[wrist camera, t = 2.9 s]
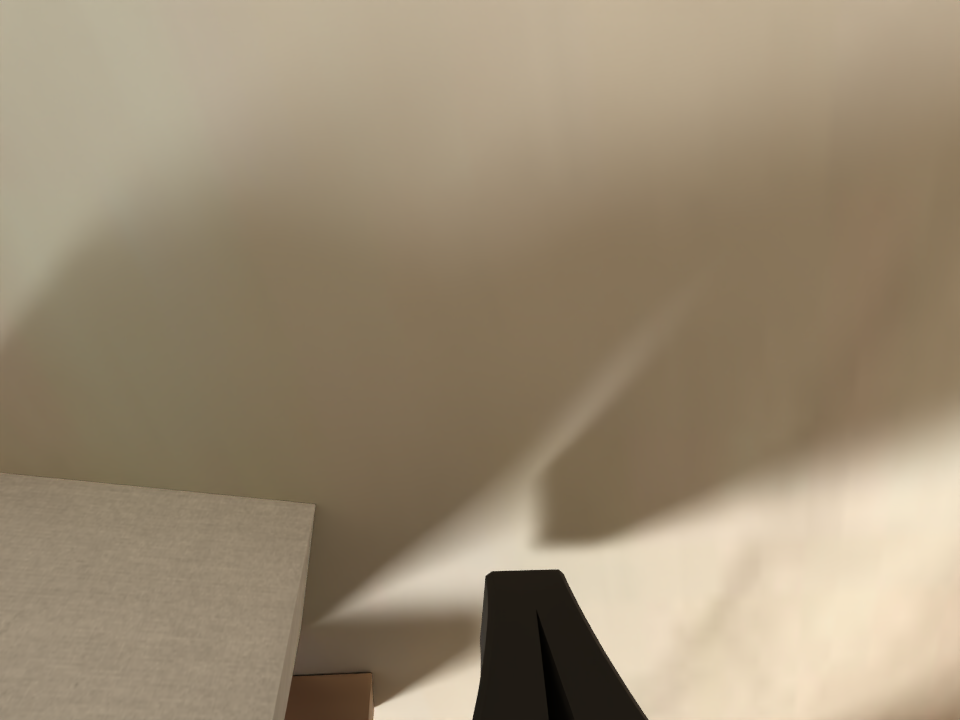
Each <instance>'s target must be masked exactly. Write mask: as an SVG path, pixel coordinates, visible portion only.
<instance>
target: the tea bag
mask: <svg viewBox="0 0 960 720" xmlns="http://www.w3.org/2000/svg"><path fill="white" fill-rule="evenodd" d="M315 505H316V504H309V503H299V502H289V501H279V500H269V499H259V498H249V497H239V496H229V495H219V494H209V493H199V492H189V491H179V490H169V489H159V488H149V487H139V486H129V485H118V484H108V483H98V482H88V481H78V480H68V479H58V478H48V477H38V476H28V475H18V474H8V473H0V720H284V719H285V713H286V708H287V702H288V697H289V691H290V686H291V681H292V675H293V670H294V664H295V659H296V653H297V648H298V643H299V637H300V632H301V625H302V616H303V608H304V599H305V591H306V582H307V574H308V565H309V557H310V548H311V539H312V531H313V522H314V514H315Z"/></svg>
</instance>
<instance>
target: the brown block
mask: <svg viewBox="0 0 960 720" xmlns="http://www.w3.org/2000/svg"><path fill="white" fill-rule="evenodd" d="M373 716H374V703H373V686H372V673H360V674H338V675H315V676H293V677H292V681H291V686H290V691H289V697H288V702H287V708H286V713H285V719H284V720H373Z"/></svg>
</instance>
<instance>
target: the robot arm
mask: <svg viewBox="0 0 960 720" xmlns="http://www.w3.org/2000/svg"><path fill="white" fill-rule="evenodd" d="M480 647H481V678H480V684H479V690H478V696H477V701H476V705H475V710H474V715H473V719H472V720H648V718H647V717H646V715H645V714H644V713H643V711H642V710H641V708H640V707H639V705H638V704H637V702H636V701H635V699H634V697H633V696H632V694H631V693H630V691H629V690H628V688H627V687H626V685H625V683H624V682H623V680H622V679H621V677H620V675H619V674H618V672H617V671H616V669H615V667H614V666H613V664H612V663H611V661H610V659H609V658H608V656H607V655H606V653H605V651H604V649H603V648H602V646H601V644H600V643H599V641H598V639H597V637H596V636H595V634H594V632H593V630H592V629H591V627H590V625H589V623H588V621H587V620H586V618H585V616H584V614H583V612H582V610H581V608H580V607H579V605H578V603H577V601H576V599H575V597H574V595H573V593H572V591H571V589H570V587H569V585H568V583H567V580H566V578H565V576H564V574H563V573H562V572H561V571H560V570H524V571H492V572H491V573H489V574H488V575H486V577H485V589H484V601H483V612H482V624H481V635H480Z"/></svg>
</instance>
